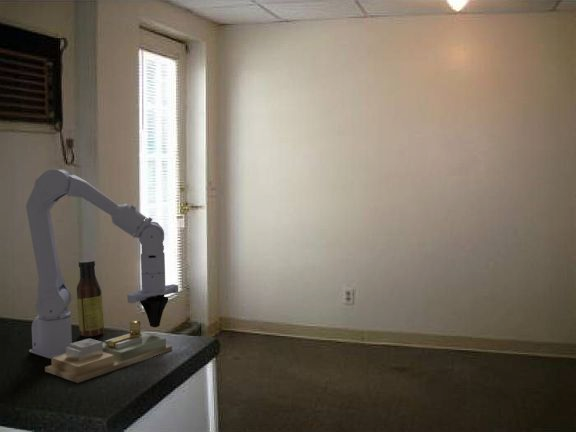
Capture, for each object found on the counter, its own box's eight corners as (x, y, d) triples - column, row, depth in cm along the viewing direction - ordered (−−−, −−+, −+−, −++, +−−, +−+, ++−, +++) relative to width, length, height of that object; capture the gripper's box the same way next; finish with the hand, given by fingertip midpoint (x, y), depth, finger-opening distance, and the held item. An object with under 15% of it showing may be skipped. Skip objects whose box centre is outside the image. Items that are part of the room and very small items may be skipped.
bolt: (108, 345, 135) (107, 327, 135) (136, 336, 141) (135, 319, 141) (114, 347, 133) (113, 329, 133) (142, 338, 140) (142, 321, 140)
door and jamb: (45, 371, 128) (44, 358, 127) (139, 341, 148) (139, 330, 148) (77, 383, 121) (76, 368, 120) (172, 350, 141) (171, 338, 141)
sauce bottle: (109, 332, 157) (106, 259, 156) (94, 338, 151) (91, 263, 150) (88, 330, 160) (85, 258, 158) (73, 336, 154) (70, 262, 152)
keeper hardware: (66, 357, 128) (65, 344, 127) (129, 338, 141) (128, 327, 141) (79, 361, 125) (78, 348, 125) (142, 341, 138) (141, 330, 138)
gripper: (140, 278, 135) (142, 335, 136) (186, 269, 147) (187, 322, 148) (121, 275, 139) (123, 331, 140) (167, 266, 151) (168, 318, 152)
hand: (154, 326), depth 144 cm, fingers closed
